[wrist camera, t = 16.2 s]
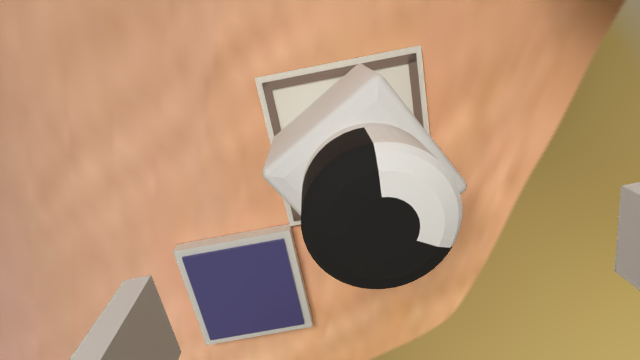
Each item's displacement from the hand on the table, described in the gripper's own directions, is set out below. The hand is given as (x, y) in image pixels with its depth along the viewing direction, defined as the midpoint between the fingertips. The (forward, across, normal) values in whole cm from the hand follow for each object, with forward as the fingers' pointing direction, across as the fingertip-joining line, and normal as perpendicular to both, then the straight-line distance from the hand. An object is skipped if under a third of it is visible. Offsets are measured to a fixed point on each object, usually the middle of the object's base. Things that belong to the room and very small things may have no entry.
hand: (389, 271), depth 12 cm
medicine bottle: (+15, +1, 0) cm, 15 cm away
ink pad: (+16, -8, -10) cm, 20 cm away
